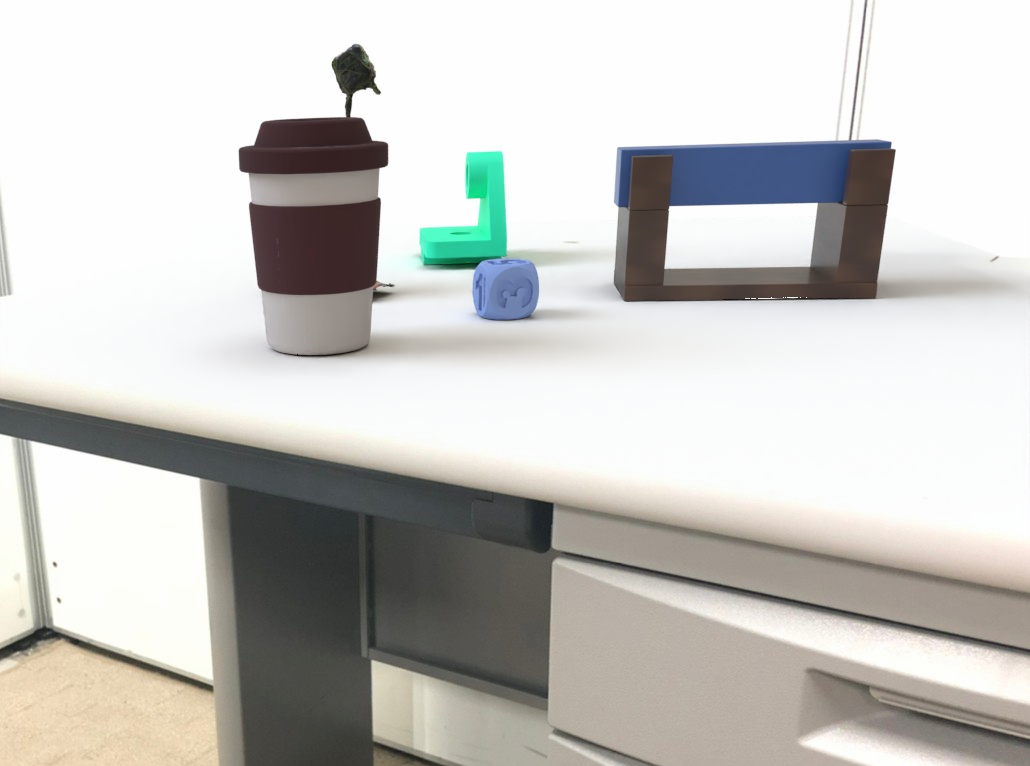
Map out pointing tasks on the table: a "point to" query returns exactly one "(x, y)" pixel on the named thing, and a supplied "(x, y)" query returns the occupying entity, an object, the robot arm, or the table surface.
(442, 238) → the camera mount
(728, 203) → the rectangular block
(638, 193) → the holder
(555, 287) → the table surface
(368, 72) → the plant with pod
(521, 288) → the decorative dice
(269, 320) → the coffee cup
